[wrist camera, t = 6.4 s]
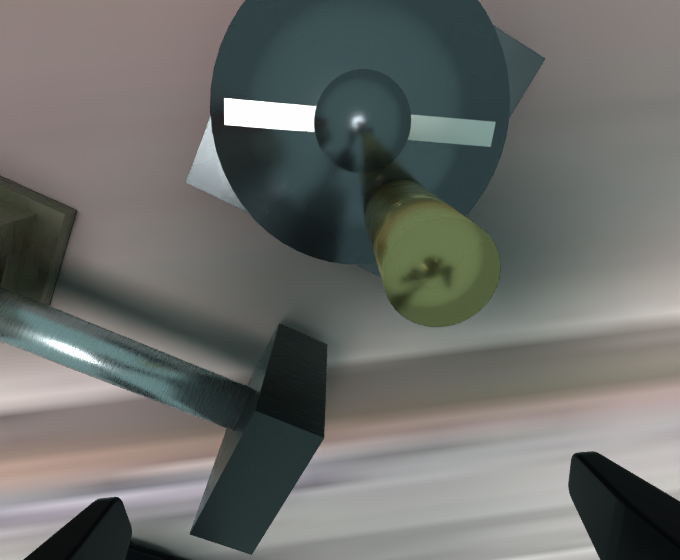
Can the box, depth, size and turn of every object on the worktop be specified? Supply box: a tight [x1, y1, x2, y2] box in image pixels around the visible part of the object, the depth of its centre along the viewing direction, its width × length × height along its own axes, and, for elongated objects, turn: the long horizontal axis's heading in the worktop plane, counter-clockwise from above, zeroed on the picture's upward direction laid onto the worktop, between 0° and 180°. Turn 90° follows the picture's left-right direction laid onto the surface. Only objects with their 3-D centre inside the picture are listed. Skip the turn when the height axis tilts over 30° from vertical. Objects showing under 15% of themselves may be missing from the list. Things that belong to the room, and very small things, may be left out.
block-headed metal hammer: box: [0, 286, 327, 555], centre depth 15 cm, size 6×18×6 cm, turn 63°
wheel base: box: [186, 25, 545, 277], centre depth 16 cm, size 10×10×1 cm
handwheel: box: [210, 0, 510, 327], centre depth 12 cm, size 10×10×8 cm
